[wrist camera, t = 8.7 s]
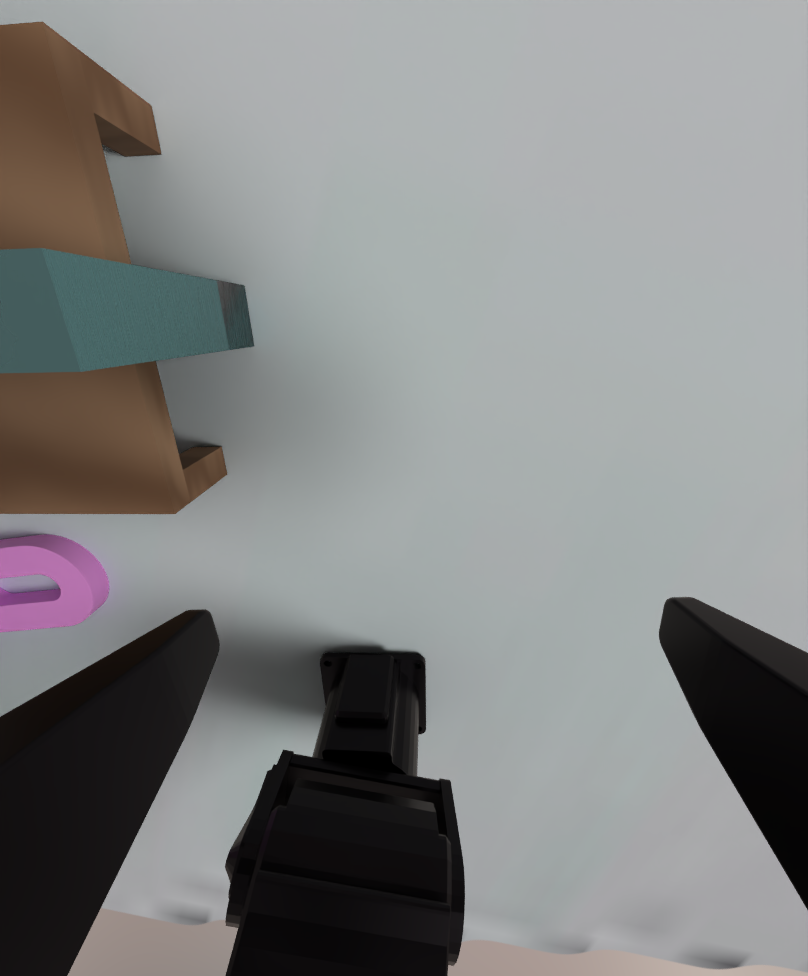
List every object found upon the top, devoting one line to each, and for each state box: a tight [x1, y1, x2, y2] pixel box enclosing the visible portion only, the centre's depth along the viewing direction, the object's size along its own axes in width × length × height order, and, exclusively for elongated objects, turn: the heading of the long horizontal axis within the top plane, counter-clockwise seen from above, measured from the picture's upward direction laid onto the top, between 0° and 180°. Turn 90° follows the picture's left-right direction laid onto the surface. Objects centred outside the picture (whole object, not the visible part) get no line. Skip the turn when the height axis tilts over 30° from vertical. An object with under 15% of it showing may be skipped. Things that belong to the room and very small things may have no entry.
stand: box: [0, 22, 227, 514], centre depth 16 cm, size 15×10×5 cm, turn 2°
